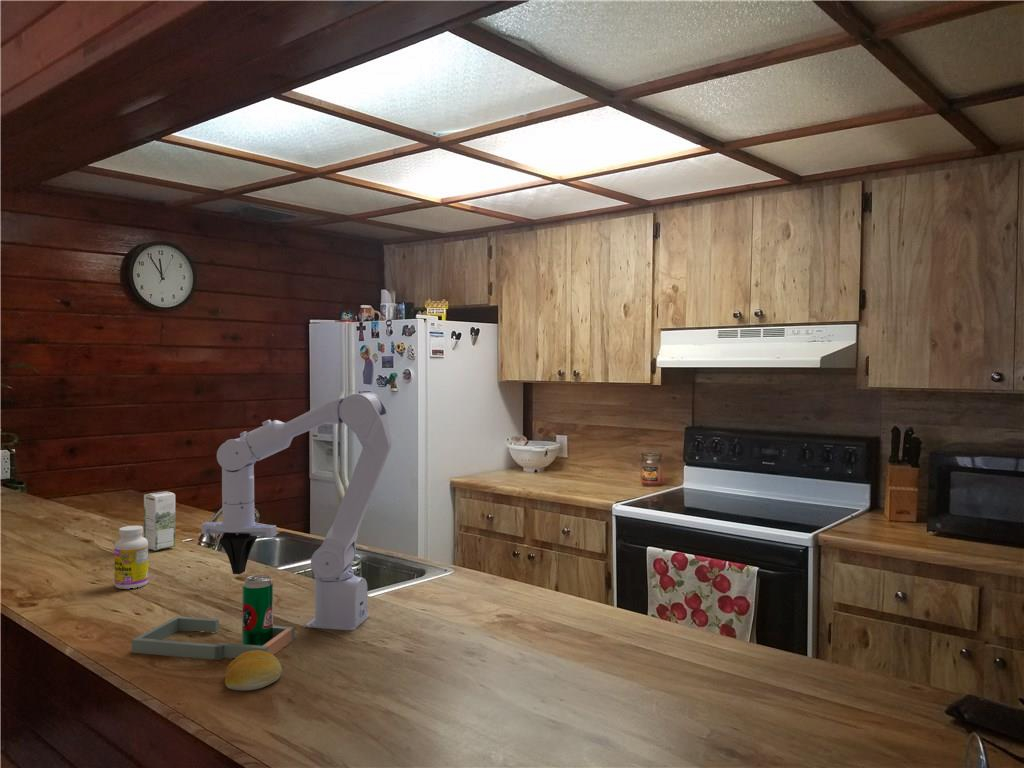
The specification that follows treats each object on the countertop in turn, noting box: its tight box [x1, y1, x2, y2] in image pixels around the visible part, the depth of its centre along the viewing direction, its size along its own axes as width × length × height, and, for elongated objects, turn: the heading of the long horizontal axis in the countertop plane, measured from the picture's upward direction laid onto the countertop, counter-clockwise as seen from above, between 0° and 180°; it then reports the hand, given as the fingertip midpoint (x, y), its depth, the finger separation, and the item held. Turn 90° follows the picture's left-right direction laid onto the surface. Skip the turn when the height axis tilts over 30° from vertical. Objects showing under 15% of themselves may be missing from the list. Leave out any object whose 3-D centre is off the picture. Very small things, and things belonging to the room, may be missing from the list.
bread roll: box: [224, 650, 283, 692], centre depth 114 cm, size 8×9×4 cm
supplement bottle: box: [113, 525, 149, 590], centre depth 164 cm, size 7×7×13 cm
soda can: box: [241, 574, 274, 646], centre depth 129 cm, size 5×5×12 cm
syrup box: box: [143, 490, 176, 551], centre depth 197 cm, size 6×6×14 cm
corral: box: [131, 615, 295, 661], centre depth 129 cm, size 24×12×2 cm, turn 79°
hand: (239, 572), depth 141 cm, fingers closed
